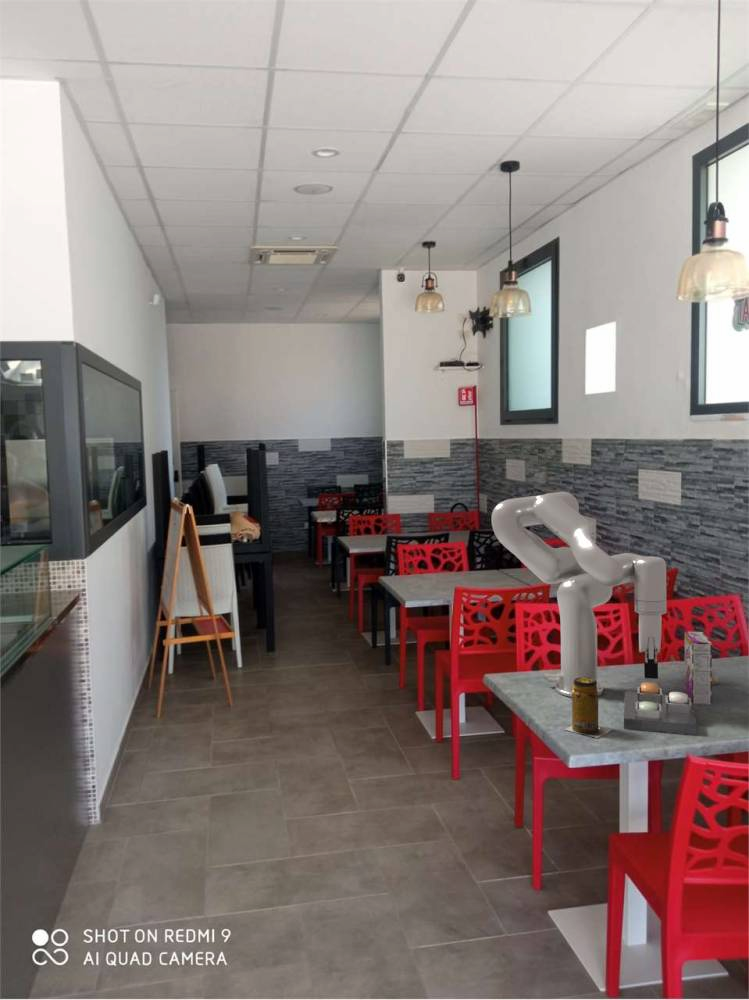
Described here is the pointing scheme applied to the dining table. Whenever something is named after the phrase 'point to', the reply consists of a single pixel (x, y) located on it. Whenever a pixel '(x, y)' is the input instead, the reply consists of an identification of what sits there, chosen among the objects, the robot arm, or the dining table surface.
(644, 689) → the terracotta button
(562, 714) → the dining table surface
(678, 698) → the cream button
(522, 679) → the dining table surface
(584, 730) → the condiment
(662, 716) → the button panel
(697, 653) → the candy bar box
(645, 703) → the sage button
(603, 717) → the dining table surface
